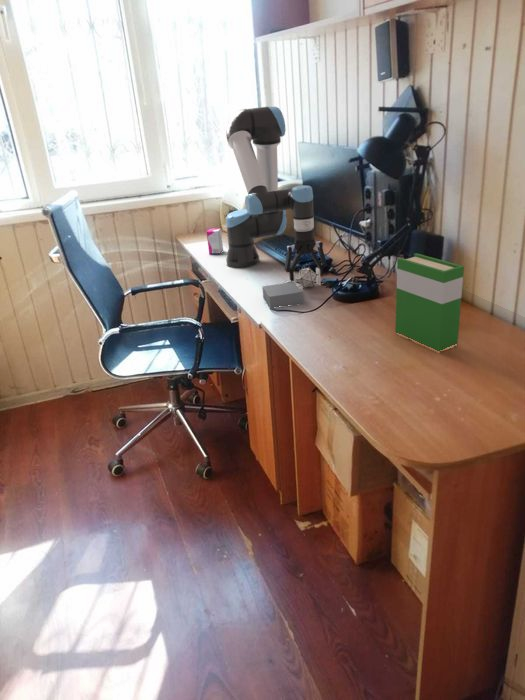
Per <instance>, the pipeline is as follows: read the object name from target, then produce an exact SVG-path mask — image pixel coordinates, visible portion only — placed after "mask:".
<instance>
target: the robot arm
mask: <svg viewBox="0 0 525 700" xmlns="http://www.w3.org/2000/svg"><path fill="white" fill-rule="evenodd" d="M227 123H228V124H227V126H226V141H227V144H228V146H229V147H230V149H232V150H233V154H234V156H235V160H236V162H237V165H238V168H239V170H240V173H241V177H242V180H243V183H244V186H245V189H246V191H247V194H246V195H245V198H244V205H245V208H244V209H243V208H242V209H238V210H234V211H231V212H230V213H228V214H227V215H226V217H225V228H226V234H227V242H228V243H227V245H228V250H227V255H226V259H225V260H226V261H225V262H226V265H227V266H228V267H230V268H236V269H237V268H248V267H254V266H256V265H258V264H259V263H260V255H259V253H258V251H257V248H256V245H255V239H260V238H265V237H275V236H278V235H281V234H283V233H284V232H285V230H286V227H287V213H286V211H289V210H292V215H293V216H292V218H293V229H294V231H293V233H294V234H293V238H294V243H293V244H292V245H287V246H286V251H287V252H286V258H285V262H284V264H285V265H284V271H285V272H286V273H288V274H289V280H290V281H291V282H294V283H295V284H296V285H297V281H296V279H297V273H296V272H295V271H296V268H297V265H298V264H299V261H300V259H301V257H302V255H303V256H304V255H307V254H308V255H310V256H311V258H312V259H313V261H314V263H315V264H316V266H317V267H315V273H316V274H319V275H317V276H316V279H315V282H316V283H315V284H316V285H317V286H321V285H322V283H321V277H323V269H324V267H327V266H328V263H327V260H326V255H325V253H324V248H323V247H324V244H323V242H322V241H321V240H318V241H315V229H314V228H315V223H314V218H315V217H314V193H313V187H312V186H310V185H306V184H305V185H296V186H292V187H291V186H288V187H285V188H284V189H280V190H279V183H278V181H279V180H278V179H279V178H278V170H279V169H278V146H279V145H280V143H281V141H282V140H281V139H282V138H283V137H284V136H285V135H286V121H285V117H284V115H283V112H282V110H281V109H280V108H279V107H277V106H262V107H254V108H253V107H252V108H244V109H240V110H238V111H236V112H235V113H234V114H233V115H232V116H231V117H230V120H229V121H228V122H227ZM252 144H253V145H254V146H255V147H256V154H255V150H254V147H253V145H252ZM315 247H316V248H317V251H318V252H317V253H318V254H319V258H320V260H319V258H318V256H317V255H316V252H315V251H314V249H315ZM294 249H295V250H296V251H295V253H294V257H293V252H294ZM292 257H293V259H292Z"/></svg>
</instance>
